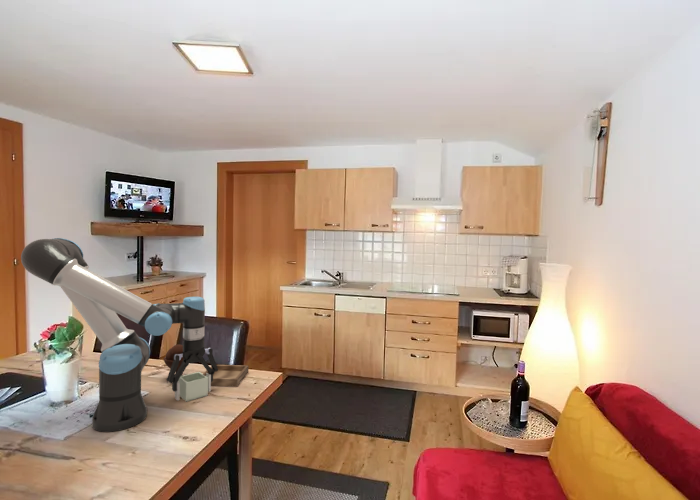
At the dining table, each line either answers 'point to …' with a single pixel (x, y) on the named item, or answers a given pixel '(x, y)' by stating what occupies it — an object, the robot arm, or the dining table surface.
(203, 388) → the sage crate
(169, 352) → the ice cream bowl
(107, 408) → the robot arm
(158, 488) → the dining table surface
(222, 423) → the dining table surface
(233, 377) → the walnut tray
